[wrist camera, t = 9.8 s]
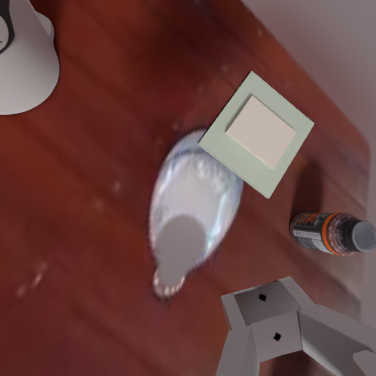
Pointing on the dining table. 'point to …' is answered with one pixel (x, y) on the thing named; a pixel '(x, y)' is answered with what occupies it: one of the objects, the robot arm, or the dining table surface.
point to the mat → (238, 156)
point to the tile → (261, 132)
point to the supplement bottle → (333, 233)
